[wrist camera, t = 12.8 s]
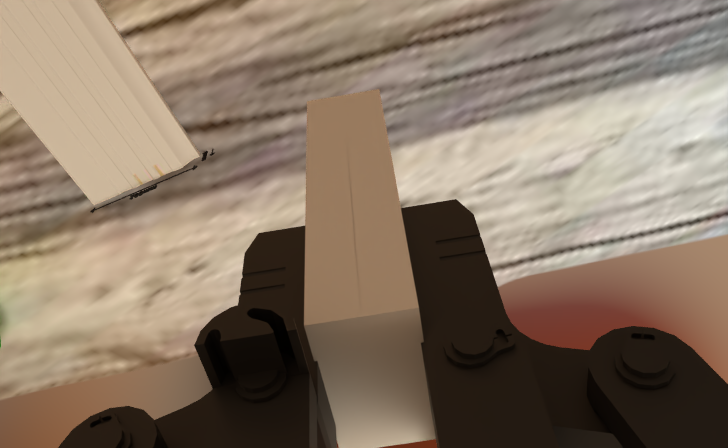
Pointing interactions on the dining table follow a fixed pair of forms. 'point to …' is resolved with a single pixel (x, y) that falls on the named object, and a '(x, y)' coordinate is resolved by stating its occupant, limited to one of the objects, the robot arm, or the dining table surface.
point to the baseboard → (88, 97)
